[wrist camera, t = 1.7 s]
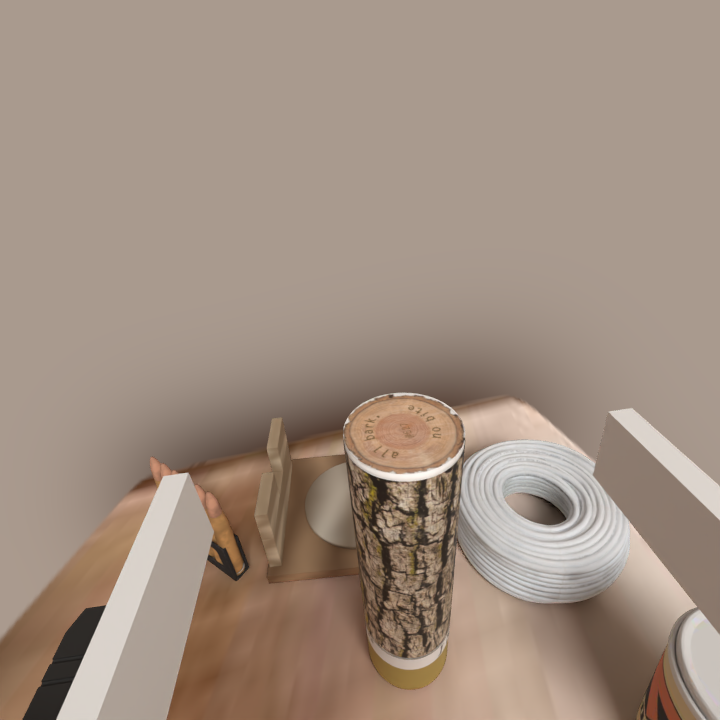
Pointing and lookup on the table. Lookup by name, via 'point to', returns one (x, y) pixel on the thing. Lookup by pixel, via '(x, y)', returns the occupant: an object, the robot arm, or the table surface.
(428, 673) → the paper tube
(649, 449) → the robot arm
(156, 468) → the ammunition clip
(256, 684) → the table surface
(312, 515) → the base
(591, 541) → the cable
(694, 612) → the coffee cup
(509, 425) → the table surface
